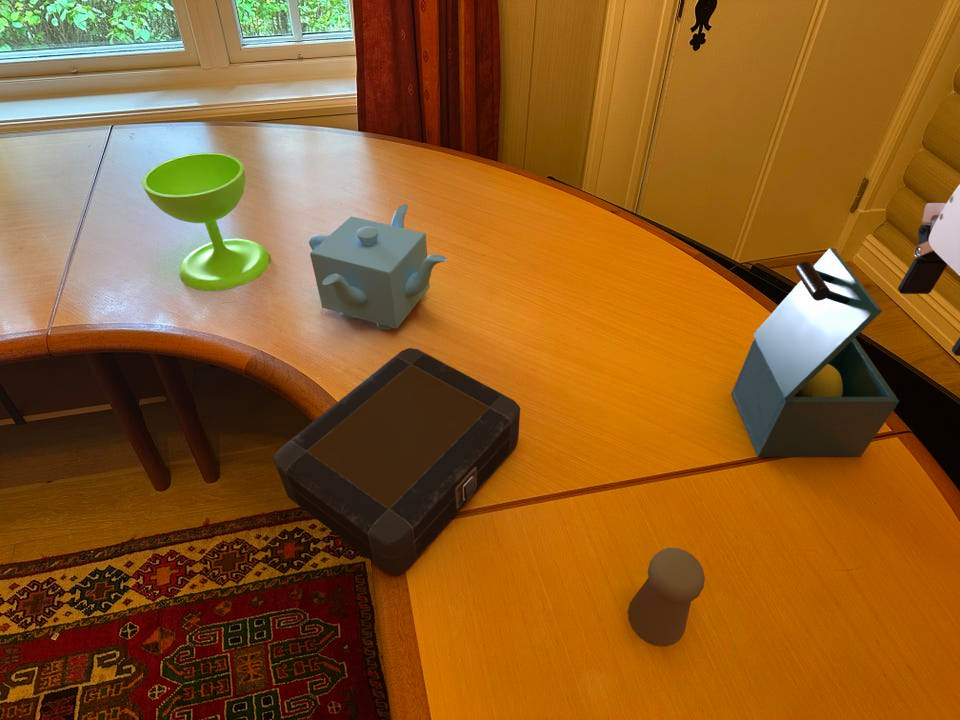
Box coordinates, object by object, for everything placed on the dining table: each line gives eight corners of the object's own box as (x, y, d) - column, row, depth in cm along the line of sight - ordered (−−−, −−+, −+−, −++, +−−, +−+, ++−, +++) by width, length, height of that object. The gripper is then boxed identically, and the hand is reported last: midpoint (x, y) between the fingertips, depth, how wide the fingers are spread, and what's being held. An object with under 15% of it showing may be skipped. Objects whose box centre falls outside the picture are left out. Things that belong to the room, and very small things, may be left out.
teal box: (823, 393, 88) (855, 337, 81) (860, 457, 80) (899, 401, 72) (730, 393, 88) (754, 337, 81) (757, 457, 80) (786, 401, 72)
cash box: (401, 587, 67) (395, 551, 61) (280, 494, 76) (265, 455, 70) (526, 444, 81) (530, 405, 76) (413, 380, 90) (408, 341, 85)
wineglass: (202, 239, 119) (170, 150, 106) (281, 243, 117) (258, 154, 105) (163, 287, 107) (121, 194, 95) (250, 293, 106) (220, 199, 93)
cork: (616, 602, 65) (634, 550, 58) (663, 581, 67) (686, 528, 60) (649, 656, 61) (672, 608, 54) (697, 632, 63) (727, 582, 56)
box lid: (835, 249, 71) (797, 235, 70) (883, 310, 63) (841, 296, 62) (757, 336, 81) (723, 325, 79) (790, 399, 72) (752, 389, 71)
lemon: (828, 428, 80) (834, 372, 77) (786, 416, 84) (790, 363, 81) (847, 413, 83) (853, 359, 80) (805, 403, 87) (809, 351, 84)
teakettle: (314, 289, 107) (296, 214, 97) (415, 265, 112) (408, 192, 102) (339, 356, 94) (321, 278, 84) (451, 325, 99) (448, 249, 89)
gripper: (1188, 205, 42) (1036, 382, 54) (1022, 114, 55) (928, 272, 66) (1081, 205, 42) (951, 382, 54) (940, 114, 55) (860, 272, 66)
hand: (939, 321), depth 60 cm, fingers open, 9 cm apart
